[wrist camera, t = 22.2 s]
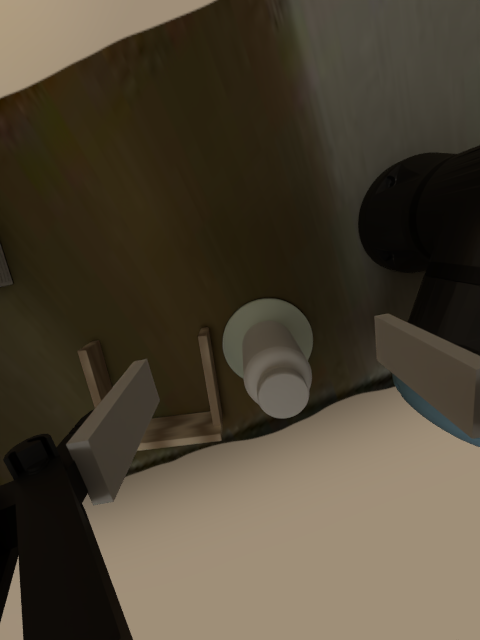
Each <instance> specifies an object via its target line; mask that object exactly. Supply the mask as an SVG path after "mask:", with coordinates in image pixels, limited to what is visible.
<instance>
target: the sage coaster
mask: <svg viewBox="0 0 480 640" xmlns="http://www.w3.org/2000/svg"><path fill="white" fill-rule="evenodd" d="M262 321H275V322H278V323H280V324H282V325H284V326H285V327H286V328H287V329H288V330H289V331H290V332H291V334H292V335H293V337H294V339H295V340H296V342H297V344H298V345H299V347H300V349H301V351H302V352H303V354H304V356H305V357H306V359H307V361H308V359H309V357H310V354H311V351H312V346H313V334H312V330H311V327H310V324H309V322H308V320H307V319H306V317H305V316H304V315H303V313H302V312H301V311H300V310H299V309H297V308H296V307H295V306H294V305H292V304H290V303H288V302H286V301H284V300H281V299H276V298H261V299H256V300H253V301H250V302H248V303H246V304H245V305H243V306H241V307H240V308H239V309H238V310H236V311H235V313H234V314H233V315H232V316H231V317H230V319H229V320H228V322H227V324H226V327H225V330H224V334H223V352H224V356H225V358H226V361H227V362H228V364H229V366H230V367H231V369H232V370H233V371H234V372H235V373H236V374H238V375H239V376H240V377H242V378H243V379H244V373H243V355H242V343H243V339H244V336H245V334H246V332H247V331H248V330H249V329H250V328H251V327H252V326H253V325H255V324H257V323H259V322H262Z"/></svg>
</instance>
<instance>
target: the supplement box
mask: <svg viewBox="0 0 480 640" xmlns="http://www.w3.org/2000/svg"><path fill="white" fill-rule="evenodd" d="M12 284H13V282H12V279H11V275H10V272H9V269H8V266H7V263H6V260H5V257H4V254H3V250H2V247H1V244H0V287H2V286H7V285H12Z"/></svg>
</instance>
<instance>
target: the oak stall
mask: <svg viewBox="0 0 480 640" xmlns="http://www.w3.org/2000/svg"><path fill="white" fill-rule="evenodd" d="M198 340H199V346H200V351H201V357H202V363H203V369H204V375H205V380H206V386H207V392H208V398H209V404H210V410H211V411H210V412H202V413H193V414H185V415H177V416H168V417H160V418H152V419H151V421H150V423H149V425H148V427H147V429H146V432H145V434H144V436H143V438H142V440H141V443H140V445H139V447H138V449H137V451H139V450H147V449H156V448H164V447H172V446H181V445H189V444H198V443H206V442H214V441H222V422H223V414H222V408H221V402H220V395H219V389H218V383H217V376H216V370H215V364H214V357H213V351H212V345H211V338H210V332H209V327H205V328H201V330H200V332H199V335H198ZM78 355H79V358H80V361H81V364H82V367H83V371H84V374H85V377H86V380H87V384H88V387H89V390H90V393H91V397H92V400H93V403H94V406H95V408H96V407H97V406H98V405H99V403H100V402H101V401H102V400H103V399H104V397H105V396H106V395H107V394H108V392H109V391H110V390H111V389H112V384H111V381H110V377H109V374H108V370H107V367H106V363H105V359H104V356H103V352H102V349H101V345H100V342H99V340H98V341H91V342H90V343H88V344H87V345H86V346H84V347H83V348H81V349H80V350H79V351H78Z"/></svg>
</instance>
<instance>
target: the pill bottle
mask: <svg viewBox="0 0 480 640" xmlns="http://www.w3.org/2000/svg"><path fill="white" fill-rule="evenodd" d="M242 355H243V373H244V384H245V387H246V390H247V392H248V394H249V395H250V396H251V398H252V399H253V400H254V401H255V402H256V403H258V404H259V405H260V407H261V409H263V411H265V413H267V414H268V415H270V416H272V417H275V418H289V417H292V416H295V415H297V414H298V413H300V412H301V411H302V410H303V409H304V407H305V406H306V404H307V402H308V399H309V389H310V386H311V382H312V371H311V367H310V365H309V363H308V361H307V359H306V357H305V356H304V354H303V352H302V351H301V349H300V347H299V345H298V344H297V342H296V340H295V339H294V337H293V335H292V334H291V332H290V331H289V330H288V329H287V328H286V327H285V326H284V325H282V324H280V323H278V322H275V321H262V322H259V323H257V324H255V325H253V326H252V327H251V328H250V329H249V330H248V331H247V332H246V334H245V336H244V339H243V343H242Z"/></svg>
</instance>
